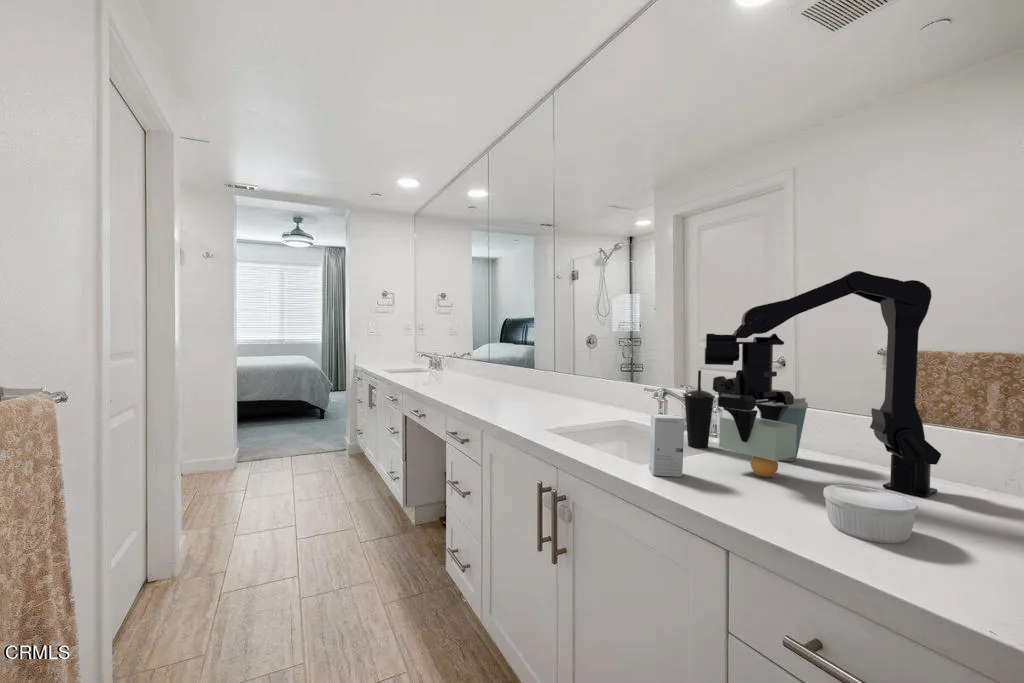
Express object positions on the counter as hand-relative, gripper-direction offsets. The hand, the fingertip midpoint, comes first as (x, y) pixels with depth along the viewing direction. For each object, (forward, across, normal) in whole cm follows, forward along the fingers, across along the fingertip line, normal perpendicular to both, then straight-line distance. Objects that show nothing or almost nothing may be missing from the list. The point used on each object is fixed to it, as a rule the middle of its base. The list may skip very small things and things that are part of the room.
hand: (755, 439), depth 96 cm
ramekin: (+8, +13, +25) cm, 29 cm away
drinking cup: (+7, -10, -21) cm, 24 cm away
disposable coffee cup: (+7, -18, -4) cm, 20 cm away
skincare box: (+7, +17, -9) cm, 21 cm away
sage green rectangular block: (+2, 0, 0) cm, 3 cm away
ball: (+5, +1, +2) cm, 5 cm away
